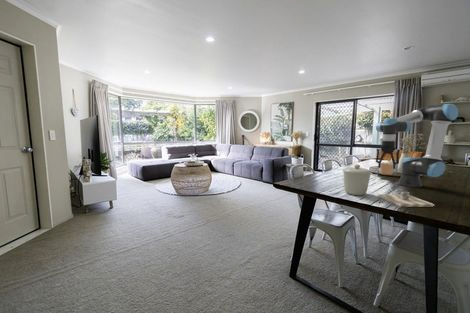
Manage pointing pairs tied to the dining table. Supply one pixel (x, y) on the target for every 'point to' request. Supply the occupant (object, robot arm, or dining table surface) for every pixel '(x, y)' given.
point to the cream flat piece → (405, 200)
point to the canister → (356, 180)
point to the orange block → (386, 168)
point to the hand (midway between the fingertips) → (386, 172)
